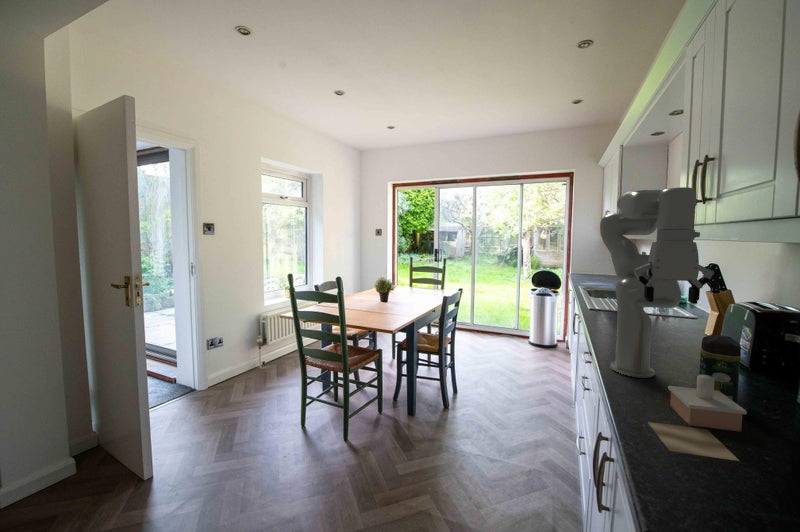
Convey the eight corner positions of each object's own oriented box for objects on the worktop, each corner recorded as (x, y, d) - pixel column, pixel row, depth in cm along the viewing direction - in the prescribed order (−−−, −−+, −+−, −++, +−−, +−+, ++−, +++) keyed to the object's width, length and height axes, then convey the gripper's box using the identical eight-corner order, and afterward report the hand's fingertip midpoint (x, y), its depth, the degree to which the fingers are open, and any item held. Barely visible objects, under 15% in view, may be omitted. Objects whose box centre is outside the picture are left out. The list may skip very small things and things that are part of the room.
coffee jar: (696, 393, 101) (701, 330, 100) (734, 401, 96) (739, 335, 95) (697, 406, 94) (702, 338, 92) (738, 415, 89) (744, 344, 87)
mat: (647, 424, 85) (647, 421, 85) (706, 431, 82) (706, 429, 82) (669, 453, 74) (669, 450, 73) (739, 463, 70) (740, 461, 70)
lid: (668, 388, 93) (669, 366, 93) (718, 393, 90) (719, 371, 90) (688, 408, 83) (690, 383, 82) (746, 414, 80) (748, 389, 79)
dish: (670, 407, 93) (671, 389, 92) (715, 412, 90) (717, 394, 90) (689, 427, 83) (690, 407, 83) (740, 434, 81) (742, 413, 80)
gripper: (707, 236, 91) (702, 301, 93) (631, 236, 96) (628, 298, 98) (724, 236, 84) (719, 306, 86) (641, 236, 89) (637, 303, 91)
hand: (670, 302), depth 92 cm, fingers open, 9 cm apart
